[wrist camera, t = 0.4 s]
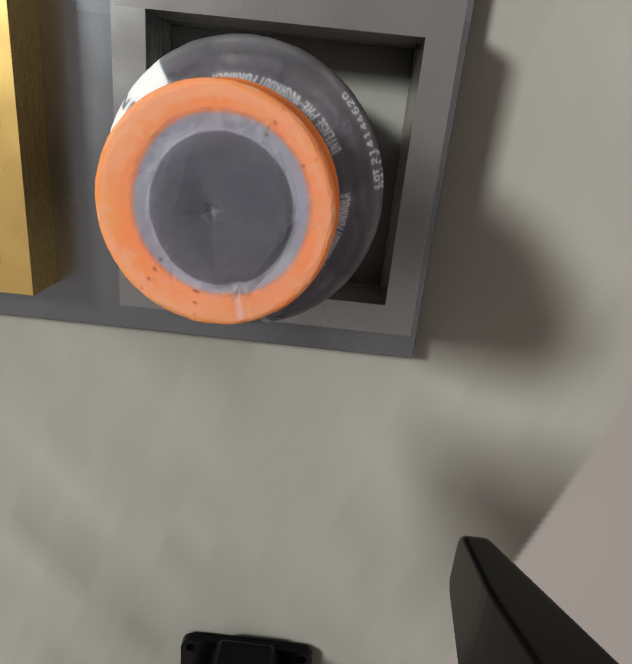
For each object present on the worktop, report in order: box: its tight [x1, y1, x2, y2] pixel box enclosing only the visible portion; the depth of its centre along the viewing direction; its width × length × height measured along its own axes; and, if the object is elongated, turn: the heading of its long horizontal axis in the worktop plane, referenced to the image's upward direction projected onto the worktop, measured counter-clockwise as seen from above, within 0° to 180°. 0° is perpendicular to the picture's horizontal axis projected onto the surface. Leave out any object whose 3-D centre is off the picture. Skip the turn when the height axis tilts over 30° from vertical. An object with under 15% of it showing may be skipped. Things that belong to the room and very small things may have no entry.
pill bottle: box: [95, 34, 383, 324], centre depth 14 cm, size 6×6×11 cm
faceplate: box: [0, 0, 475, 358], centre depth 18 cm, size 13×24×2 cm, turn 84°
